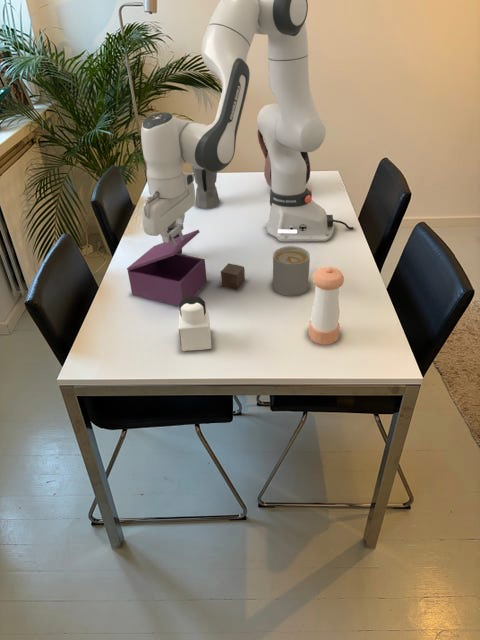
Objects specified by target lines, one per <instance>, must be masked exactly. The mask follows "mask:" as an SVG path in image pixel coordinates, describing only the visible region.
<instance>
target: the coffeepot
mask: <svg viewBox="0 0 480 640" xmlns="http://www.w3.org/2000/svg"><path fill="white" fill-rule="evenodd" d="M191 169H192V173H193V174H194V182H195V184H196V189H195V203H194V205H196V207H197V208H199V209H202V210H203V209H204V210H206V209H208V210H209V209H214V208H216V207H218V206H219V204H220V203H221V201H220V197H219V193H218V189H217V186H216V182H217V178H218V177H217V176H218V172H211V171H209V170H206V169H204V168H202V167H200V166H197V165H193V164H191Z"/></svg>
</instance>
